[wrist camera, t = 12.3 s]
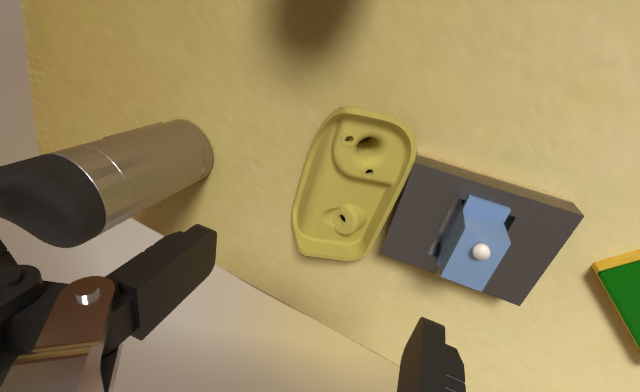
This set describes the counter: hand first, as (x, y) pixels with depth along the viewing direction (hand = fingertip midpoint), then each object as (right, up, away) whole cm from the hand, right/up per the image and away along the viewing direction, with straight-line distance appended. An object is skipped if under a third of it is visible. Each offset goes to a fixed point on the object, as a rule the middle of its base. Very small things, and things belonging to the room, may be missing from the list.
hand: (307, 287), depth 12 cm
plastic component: (+5, +6, +29) cm, 30 cm away
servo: (+17, 0, +25) cm, 30 cm away
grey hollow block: (+18, +1, +26) cm, 31 cm away
